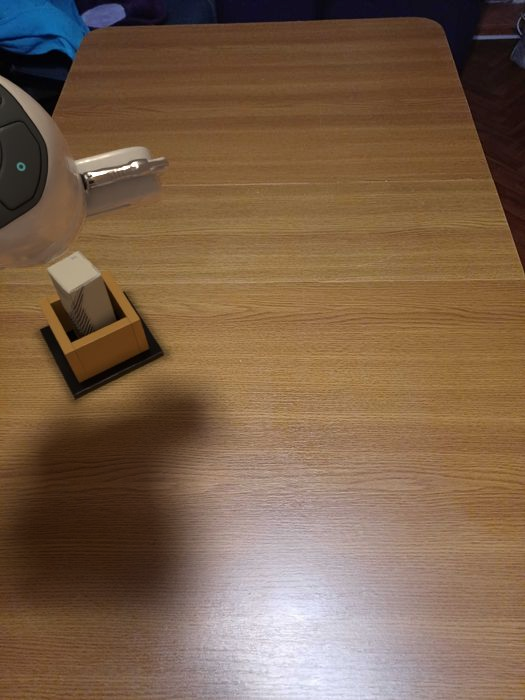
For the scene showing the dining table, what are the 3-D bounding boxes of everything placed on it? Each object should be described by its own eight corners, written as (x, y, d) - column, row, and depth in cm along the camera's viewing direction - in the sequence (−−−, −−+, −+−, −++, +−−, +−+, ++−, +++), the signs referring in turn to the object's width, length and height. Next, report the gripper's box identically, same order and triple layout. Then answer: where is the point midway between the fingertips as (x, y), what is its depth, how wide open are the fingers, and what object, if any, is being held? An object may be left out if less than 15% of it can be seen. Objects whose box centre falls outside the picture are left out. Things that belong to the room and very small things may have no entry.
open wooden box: (75, 399, 74) (58, 367, 69) (41, 333, 80) (23, 299, 75) (164, 355, 77) (154, 321, 72) (125, 294, 84) (113, 259, 78)
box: (75, 336, 79) (42, 266, 68) (104, 318, 80) (77, 247, 70) (97, 361, 76) (67, 293, 66) (127, 342, 78) (101, 272, 67)
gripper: (156, 110, 41) (147, 151, 54) (-173, 190, 37) (-95, 212, 50) (185, 204, 42) (169, 221, 55) (-132, 291, 38) (-67, 286, 51)
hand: (41, 217), depth 53 cm, fingers open, 8 cm apart
